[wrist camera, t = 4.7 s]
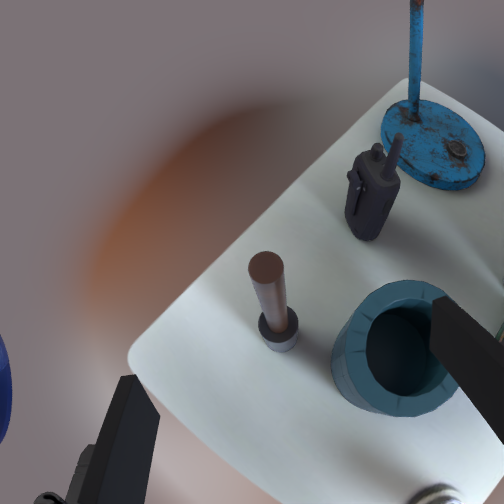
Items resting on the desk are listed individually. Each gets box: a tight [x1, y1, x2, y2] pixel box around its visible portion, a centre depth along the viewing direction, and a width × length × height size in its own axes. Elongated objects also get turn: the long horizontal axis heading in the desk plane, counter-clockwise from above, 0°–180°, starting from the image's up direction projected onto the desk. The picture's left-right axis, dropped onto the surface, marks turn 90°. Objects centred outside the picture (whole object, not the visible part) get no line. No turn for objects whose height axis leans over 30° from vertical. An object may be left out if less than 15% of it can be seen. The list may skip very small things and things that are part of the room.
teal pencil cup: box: [331, 280, 459, 417], centre depth 25 cm, size 10×10×9 cm
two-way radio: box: [345, 132, 404, 241], centre depth 28 cm, size 6×4×15 cm
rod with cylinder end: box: [248, 251, 298, 352], centre depth 23 cm, size 3×3×18 cm
